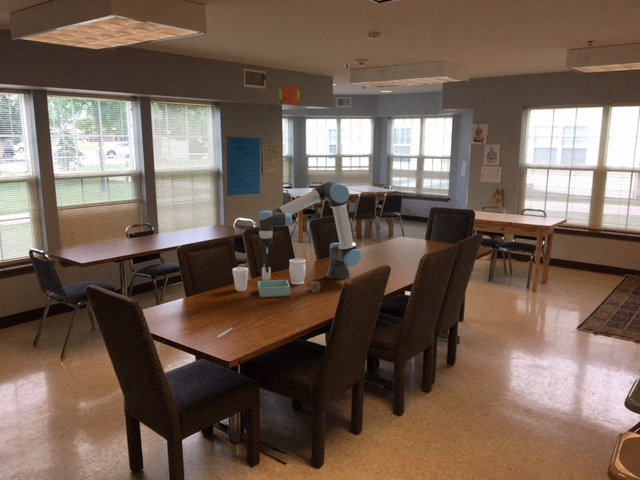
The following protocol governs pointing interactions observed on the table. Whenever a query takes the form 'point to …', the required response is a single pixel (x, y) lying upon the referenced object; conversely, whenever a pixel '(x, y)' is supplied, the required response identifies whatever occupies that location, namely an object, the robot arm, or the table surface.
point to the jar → (297, 271)
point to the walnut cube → (315, 286)
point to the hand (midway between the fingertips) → (266, 276)
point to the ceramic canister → (264, 273)
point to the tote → (273, 288)
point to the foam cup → (240, 278)
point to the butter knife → (224, 332)
